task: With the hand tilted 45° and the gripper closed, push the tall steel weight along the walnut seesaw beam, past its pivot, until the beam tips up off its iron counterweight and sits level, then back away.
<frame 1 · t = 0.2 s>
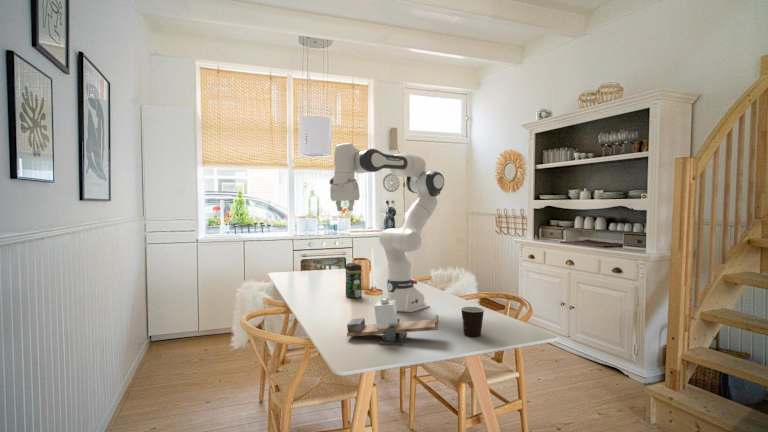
hand: (344, 211, 185), 48 cm above the table, tool pointing down, fingers open, 8 cm apart
coffee mug: (473, 334, 164), on the table
coffee jar: (353, 296, 230), on the table
steel weight: (387, 326, 159), point 4 cm above the table, tilted 7°, touching beam
fulcrum: (393, 338, 159), on the table
beam: (392, 323, 159), point 5 cm above the table, hinge at -7.3°, touching steel weight
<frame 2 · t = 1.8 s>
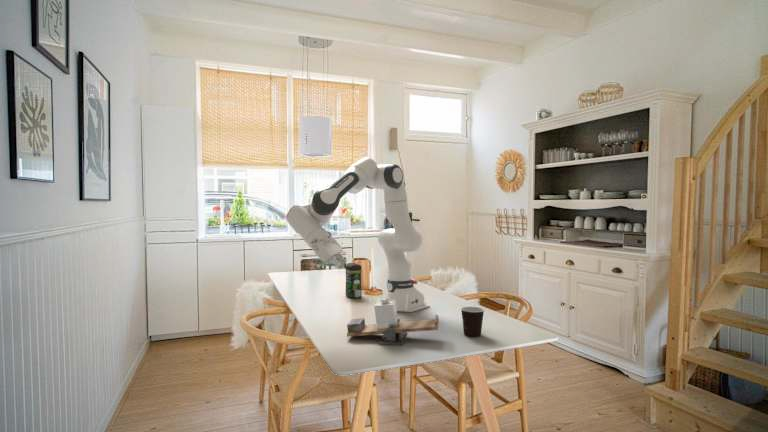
hand: (342, 264, 161), 27 cm above the table, tool tilted 45°, fingers open, 6 cm apart
nothing on the table moved.
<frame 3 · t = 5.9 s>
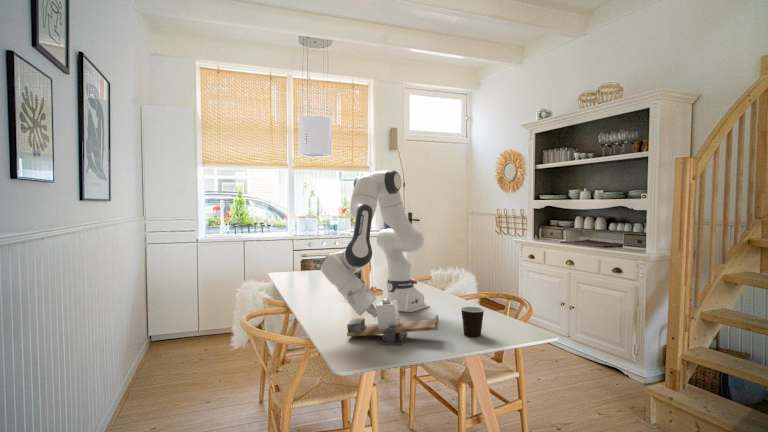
hand: (377, 315, 160), 8 cm above the table, tool tilted 45°, fingers closed, pressing on steel weight
steel weight: (389, 326, 159), point 4 cm above the table, tilted 7°, touching gripper
beam: (392, 323, 159), point 5 cm above the table, hinge at -7.3°
everything else where it was.
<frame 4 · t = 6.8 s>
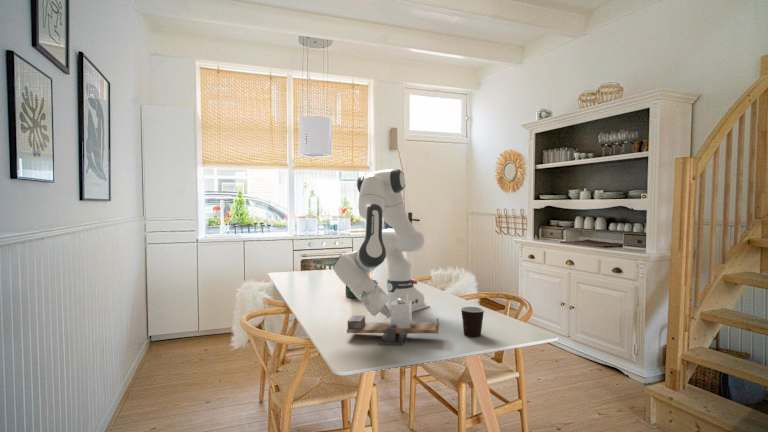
hand: (390, 316, 159), 8 cm above the table, tool tilted 45°, fingers closed, pressing on steel weight
steel weight: (401, 326, 158), point 5 cm above the table, touching gripper
beam: (393, 323, 159), point 5 cm above the table, hinge at -2.7°
everything else where it was.
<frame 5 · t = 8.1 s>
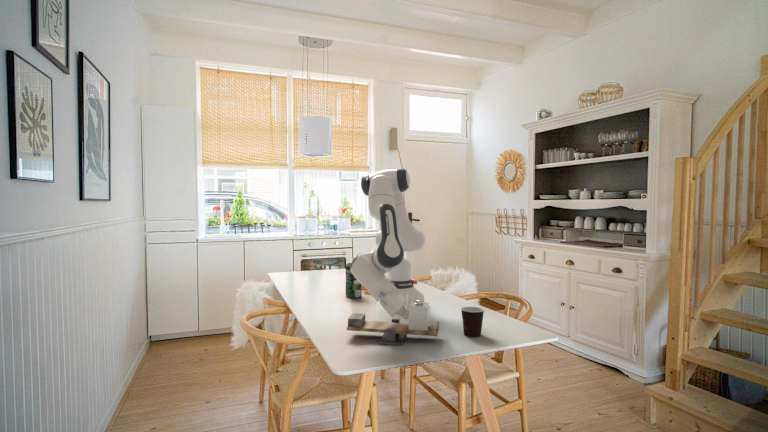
hand: (408, 317, 158), 8 cm above the table, tool tilted 45°, fingers closed
steel weight: (418, 327, 157), point 4 cm above the table, touching beam
beam: (393, 323, 159), point 5 cm above the table, hinge at 0.8°, touching steel weight
everything else where it was.
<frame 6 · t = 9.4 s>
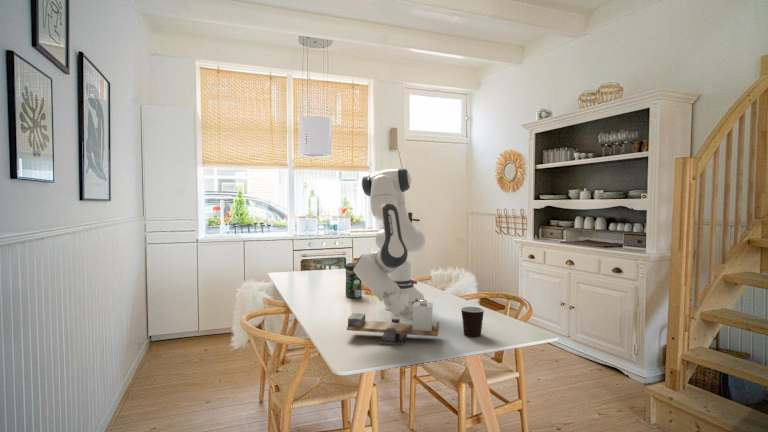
hand: (411, 317, 157), 8 cm above the table, tool tilted 45°, fingers closed, pressing on steel weight
steel weight: (422, 328, 157), point 4 cm above the table, touching beam, gripper
everything else where it was.
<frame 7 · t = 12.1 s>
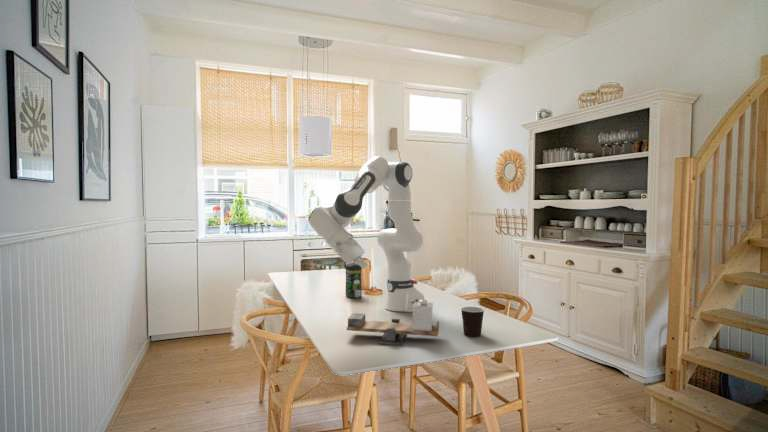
hand: (365, 267, 160), 27 cm above the table, tool tilted 45°, fingers closed
steel weight: (422, 328, 157), point 4 cm above the table, touching beam
everything else where it was.
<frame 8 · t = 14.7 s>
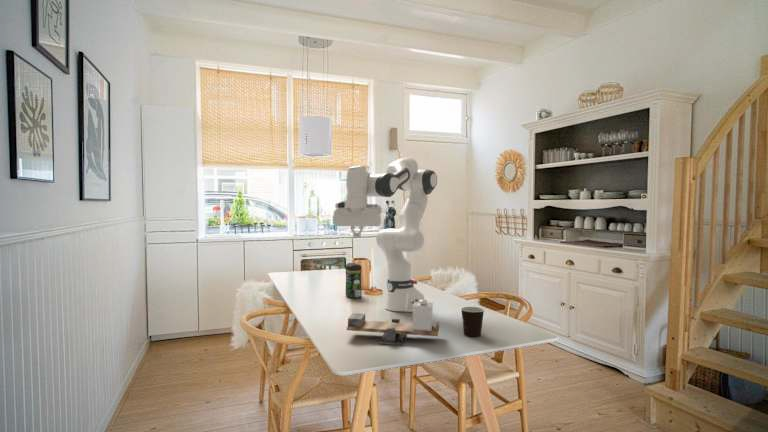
hand: (357, 237, 175), 37 cm above the table, tool pointing down, fingers closed
nothing on the table moved.
at the end: beam at +1° (first picture: -7°); steel weight inside the target area on the beam (0.5 cm from its centre), point 0.4 cm above the beam's base; steel weight touching beam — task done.
